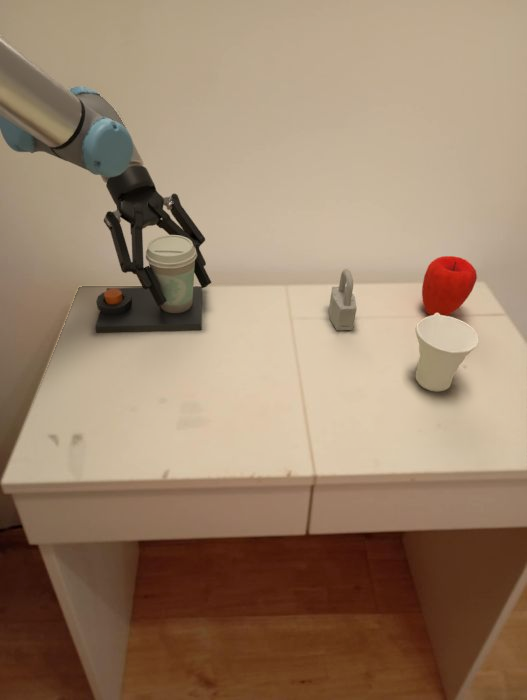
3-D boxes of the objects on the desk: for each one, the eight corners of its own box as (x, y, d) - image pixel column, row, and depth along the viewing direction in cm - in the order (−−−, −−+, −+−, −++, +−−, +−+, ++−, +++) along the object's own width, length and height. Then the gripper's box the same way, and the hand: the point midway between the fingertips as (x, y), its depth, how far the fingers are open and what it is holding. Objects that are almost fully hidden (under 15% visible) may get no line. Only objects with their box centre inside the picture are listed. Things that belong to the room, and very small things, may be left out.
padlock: (355, 330, 84) (365, 283, 78) (333, 331, 84) (341, 283, 77) (346, 307, 90) (355, 261, 83) (325, 308, 89) (332, 261, 83)
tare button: (104, 305, 83) (102, 297, 82) (107, 295, 85) (105, 288, 84) (121, 304, 83) (120, 297, 82) (123, 295, 86) (122, 288, 85)
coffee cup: (142, 307, 85) (133, 247, 77) (174, 286, 91) (168, 228, 83) (179, 324, 82) (173, 263, 74) (209, 301, 87) (206, 242, 79)
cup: (448, 360, 79) (467, 312, 72) (466, 401, 72) (489, 351, 65) (395, 359, 78) (409, 310, 72) (409, 400, 71) (426, 350, 65)
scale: (94, 332, 81) (90, 319, 79) (105, 294, 90) (102, 281, 88) (201, 330, 83) (200, 316, 81) (202, 292, 92) (201, 279, 90)
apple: (463, 330, 85) (483, 278, 78) (414, 321, 87) (429, 270, 80) (461, 303, 92) (479, 254, 85) (415, 296, 94) (429, 246, 87)
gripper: (68, 177, 72) (136, 311, 73) (185, 151, 83) (242, 267, 84) (62, 200, 78) (124, 322, 79) (171, 173, 89) (225, 280, 90)
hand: (185, 294), depth 82 cm, fingers closed on coffee cup, 8 cm apart
